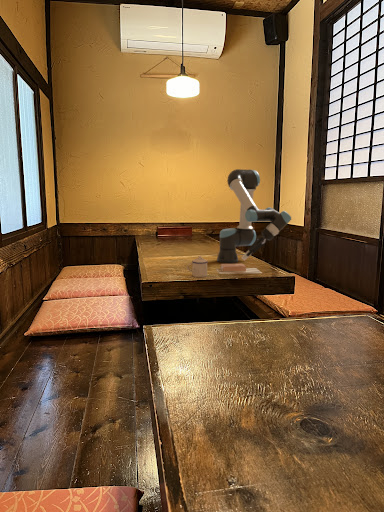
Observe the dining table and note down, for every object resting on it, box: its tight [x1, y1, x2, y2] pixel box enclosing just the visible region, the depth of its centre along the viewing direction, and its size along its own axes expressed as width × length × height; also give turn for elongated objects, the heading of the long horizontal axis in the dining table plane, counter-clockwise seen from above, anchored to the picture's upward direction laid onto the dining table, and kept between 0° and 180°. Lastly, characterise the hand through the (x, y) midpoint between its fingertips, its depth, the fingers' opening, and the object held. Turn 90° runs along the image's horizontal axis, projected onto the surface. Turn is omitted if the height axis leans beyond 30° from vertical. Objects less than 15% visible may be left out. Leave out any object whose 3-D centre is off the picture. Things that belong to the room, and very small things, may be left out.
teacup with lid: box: [186, 255, 209, 278], centre depth 214 cm, size 12×9×12 cm
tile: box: [220, 263, 247, 272], centre depth 226 cm, size 10×3×14 cm
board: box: [216, 267, 263, 275], centre depth 226 cm, size 20×26×1 cm
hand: (242, 259), depth 225 cm, fingers closed
